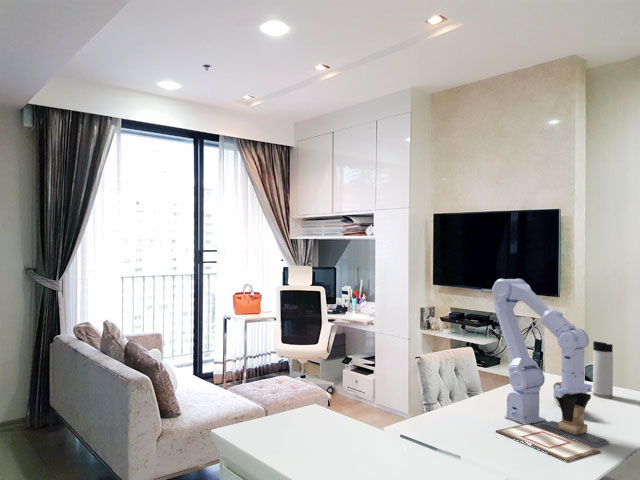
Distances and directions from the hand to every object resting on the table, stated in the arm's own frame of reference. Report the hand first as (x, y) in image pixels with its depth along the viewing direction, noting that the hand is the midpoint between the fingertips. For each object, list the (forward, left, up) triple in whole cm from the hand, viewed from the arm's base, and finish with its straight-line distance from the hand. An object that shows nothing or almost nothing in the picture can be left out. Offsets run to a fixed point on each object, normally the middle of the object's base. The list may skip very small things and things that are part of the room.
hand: (572, 419), depth 136 cm
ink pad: (0, 0, -4) cm, 4 cm away
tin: (+19, +15, -5) cm, 25 cm away
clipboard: (-12, 0, -4) cm, 12 cm away
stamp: (0, 0, -3) cm, 3 cm away
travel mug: (+47, +20, -5) cm, 52 cm away
